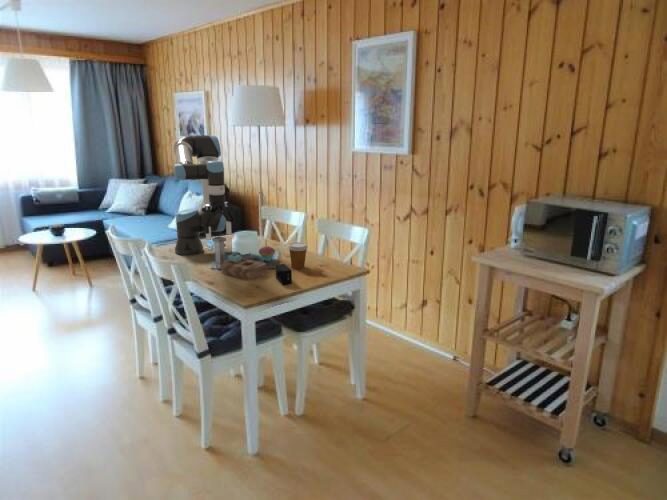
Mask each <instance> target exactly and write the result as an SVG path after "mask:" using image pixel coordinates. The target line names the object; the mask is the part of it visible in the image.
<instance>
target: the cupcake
mask: <svg viewBox="0 0 667 500" xmlns="http://www.w3.org/2000/svg"><path fill="white" fill-rule="evenodd" d="M258 253H259V254H260V256H261V259H262V261H264V260H266V261H265V262H268V261H267V260H271V259H272V260H273V257H274V255H275V253H276V250H275V248H273V247H271V246H268V240H267V239H265V246H263V247H261V248H260V249H259V250H258ZM272 260H271V261H272Z"/></svg>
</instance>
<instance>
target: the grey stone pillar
mask: <svg viewBox="0 0 667 500" xmlns="http://www.w3.org/2000/svg"><path fill="white" fill-rule="evenodd" d="M211 241H212V242H214V256H215V268H216V269H218V270H222V263H223V262H226V256H225V255H226V254H225V252H226V251H225V242H226V241H227V238H226V237H223V236H216V237H213V238H212V237H211Z"/></svg>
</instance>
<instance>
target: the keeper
mask: <svg viewBox="0 0 667 500" xmlns="http://www.w3.org/2000/svg"><path fill="white" fill-rule="evenodd" d="M242 256H243V255H240V254H238V253H232V254H229V255H227V259H228V260H229V261H233V262H239V261H241V260H242V258H243V257H242Z"/></svg>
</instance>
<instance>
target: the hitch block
mask: <svg viewBox="0 0 667 500" xmlns="http://www.w3.org/2000/svg"><path fill="white" fill-rule="evenodd" d="M267 265H268V264H267V263H266V262H263V261H258V260H253V259H250V258H249V259H248V258H244V257H242V260H241V261H239V262H233V261H229V260H225V262H223V263H222V269H221V274H225V275H229V276H232V277H236V278H241V279H244V280H249V281H253V280H255V279H256V278H259V277H261V276H264V275H266V274H268V266H267Z"/></svg>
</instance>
